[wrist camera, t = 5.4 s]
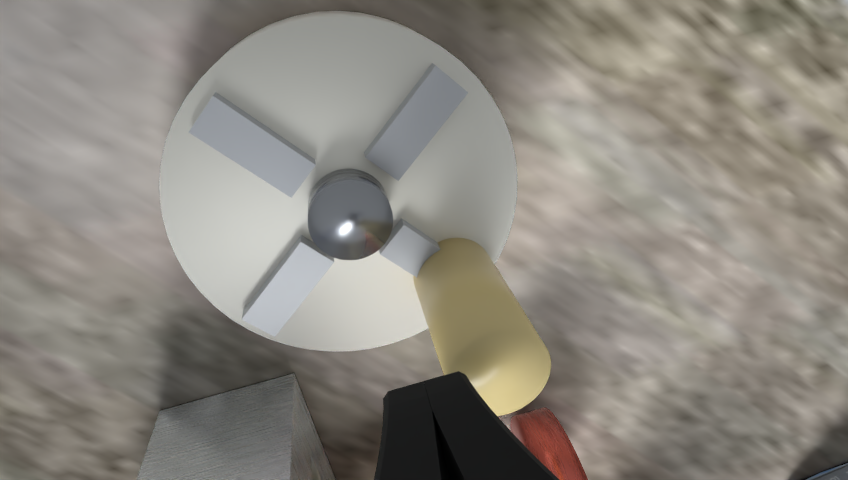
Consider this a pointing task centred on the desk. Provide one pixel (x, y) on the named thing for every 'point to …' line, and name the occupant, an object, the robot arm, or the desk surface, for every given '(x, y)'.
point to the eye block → (238, 437)
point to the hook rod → (548, 443)
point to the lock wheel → (367, 151)
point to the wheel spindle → (349, 214)
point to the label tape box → (832, 474)
